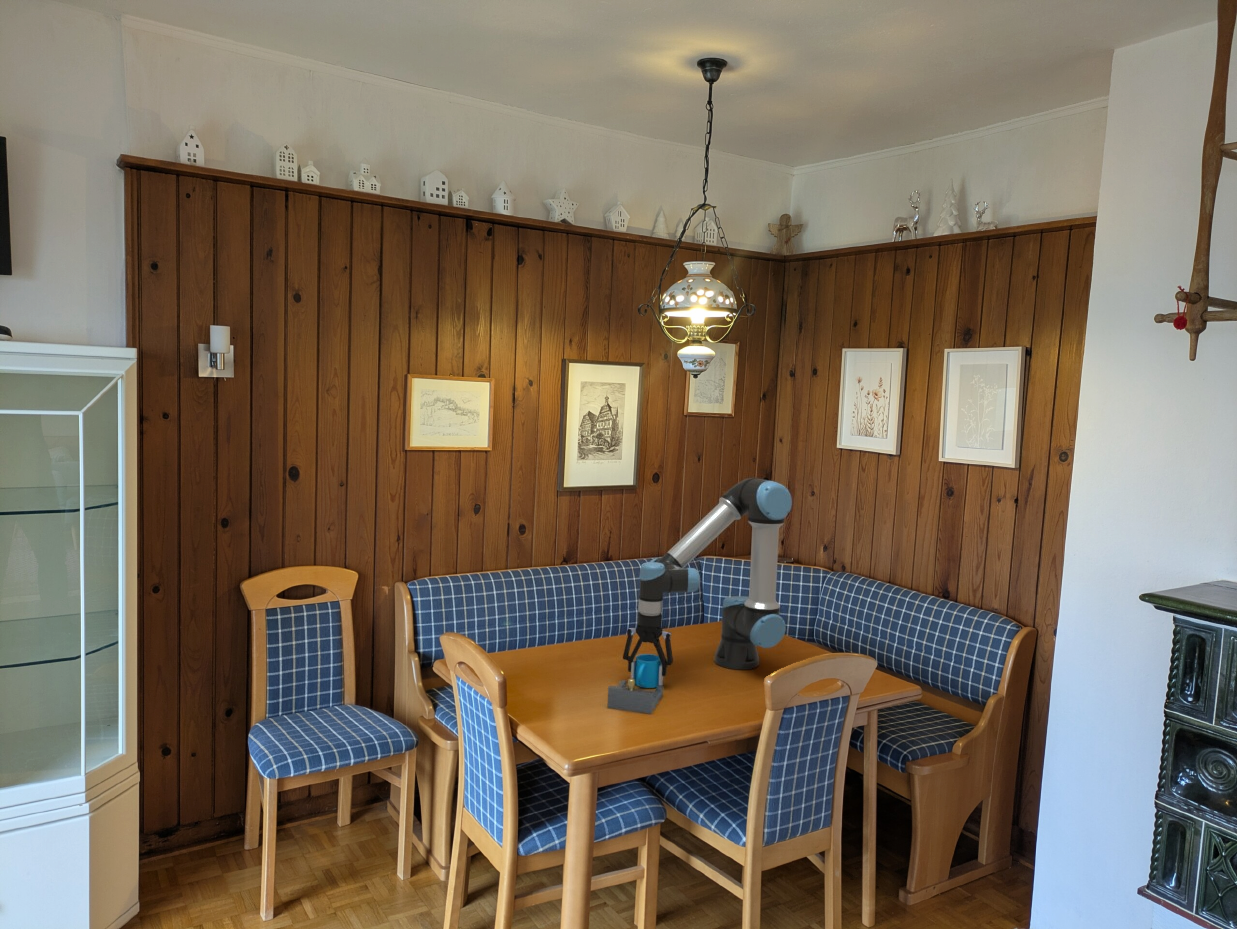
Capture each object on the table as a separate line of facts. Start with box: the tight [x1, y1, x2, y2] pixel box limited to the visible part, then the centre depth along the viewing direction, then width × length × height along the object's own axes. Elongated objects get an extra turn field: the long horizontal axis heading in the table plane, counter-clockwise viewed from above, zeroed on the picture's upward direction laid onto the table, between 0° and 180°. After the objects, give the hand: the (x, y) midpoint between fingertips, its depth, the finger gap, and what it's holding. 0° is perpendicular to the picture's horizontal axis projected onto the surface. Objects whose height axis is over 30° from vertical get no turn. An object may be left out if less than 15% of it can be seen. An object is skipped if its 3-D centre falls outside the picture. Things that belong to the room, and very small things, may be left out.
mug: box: [635, 653, 661, 689], centre depth 273 cm, size 12×8×8 cm
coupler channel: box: [607, 677, 664, 715], centre depth 259 cm, size 13×16×9 cm
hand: (646, 683), depth 273 cm, fingers open, 8 cm apart
